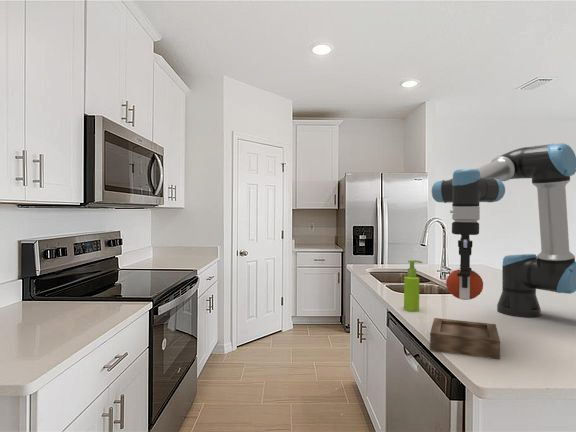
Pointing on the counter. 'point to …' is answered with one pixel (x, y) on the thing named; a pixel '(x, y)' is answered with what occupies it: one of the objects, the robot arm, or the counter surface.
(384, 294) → the counter surface
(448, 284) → the tomato
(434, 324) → the walnut box
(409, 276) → the soap dispenser
